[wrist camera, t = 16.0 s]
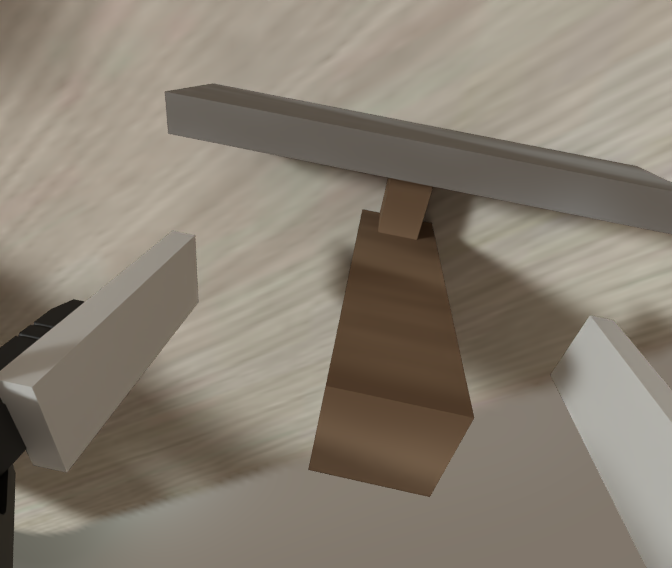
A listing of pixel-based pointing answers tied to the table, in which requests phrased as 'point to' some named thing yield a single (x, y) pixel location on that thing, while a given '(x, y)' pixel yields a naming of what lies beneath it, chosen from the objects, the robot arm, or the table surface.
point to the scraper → (407, 262)
